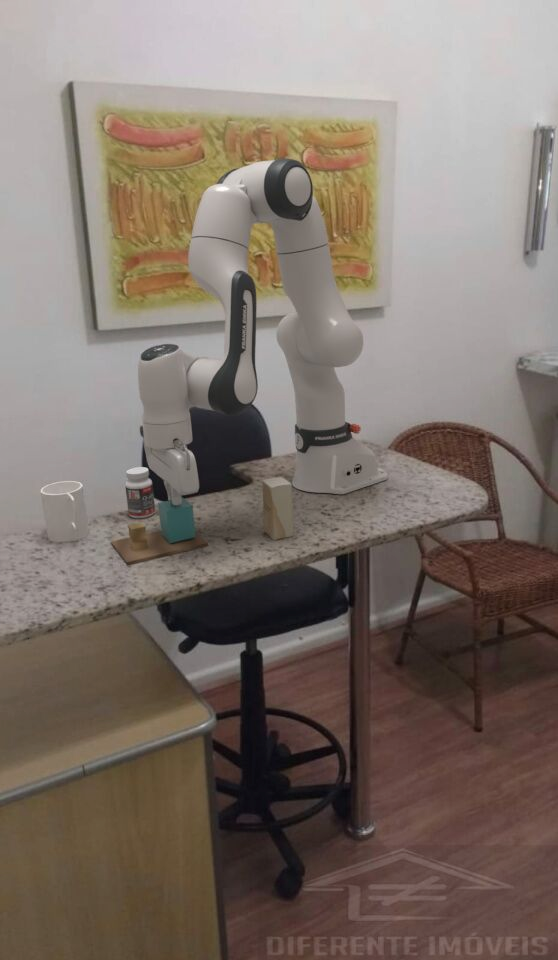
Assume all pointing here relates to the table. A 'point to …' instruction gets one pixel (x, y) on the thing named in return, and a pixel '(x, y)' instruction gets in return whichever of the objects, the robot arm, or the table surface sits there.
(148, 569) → the table surface
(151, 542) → the stand
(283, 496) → the box
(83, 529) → the cup
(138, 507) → the pill bottle
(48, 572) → the table surface
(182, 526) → the teal rectangular block
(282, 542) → the table surface
